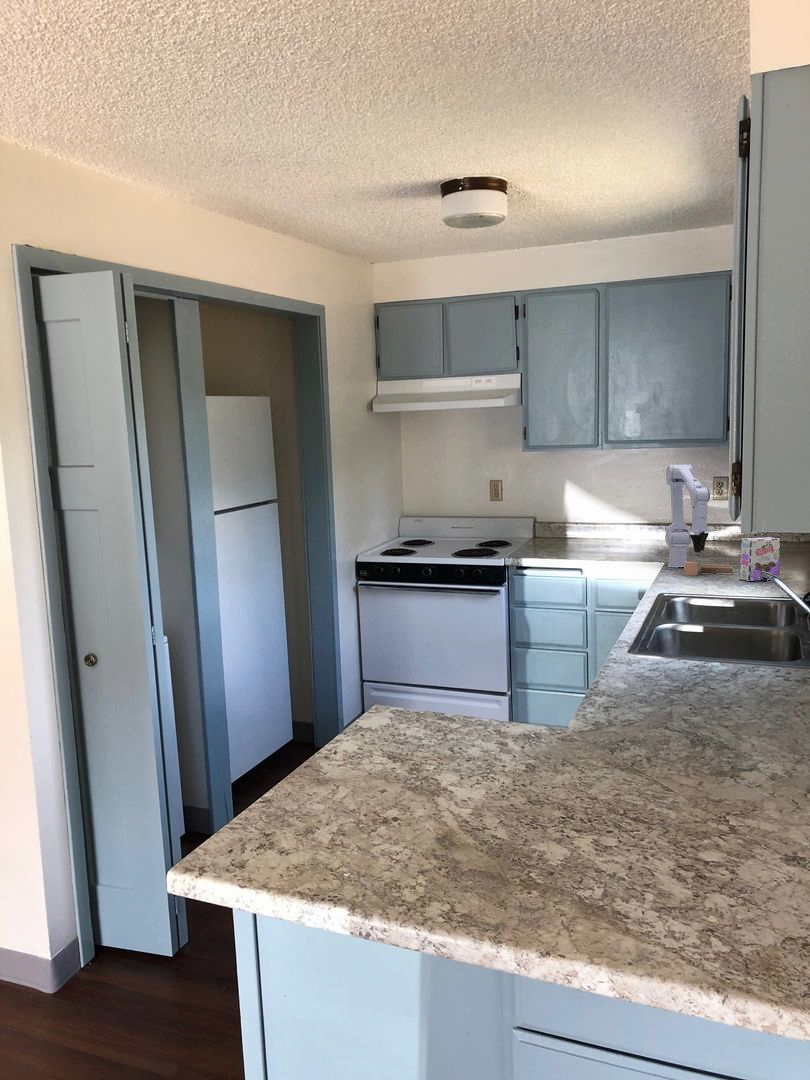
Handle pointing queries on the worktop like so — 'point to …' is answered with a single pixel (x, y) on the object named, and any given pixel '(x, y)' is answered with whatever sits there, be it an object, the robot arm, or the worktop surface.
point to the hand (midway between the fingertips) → (699, 551)
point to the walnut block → (715, 568)
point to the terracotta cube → (690, 568)
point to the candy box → (759, 557)
